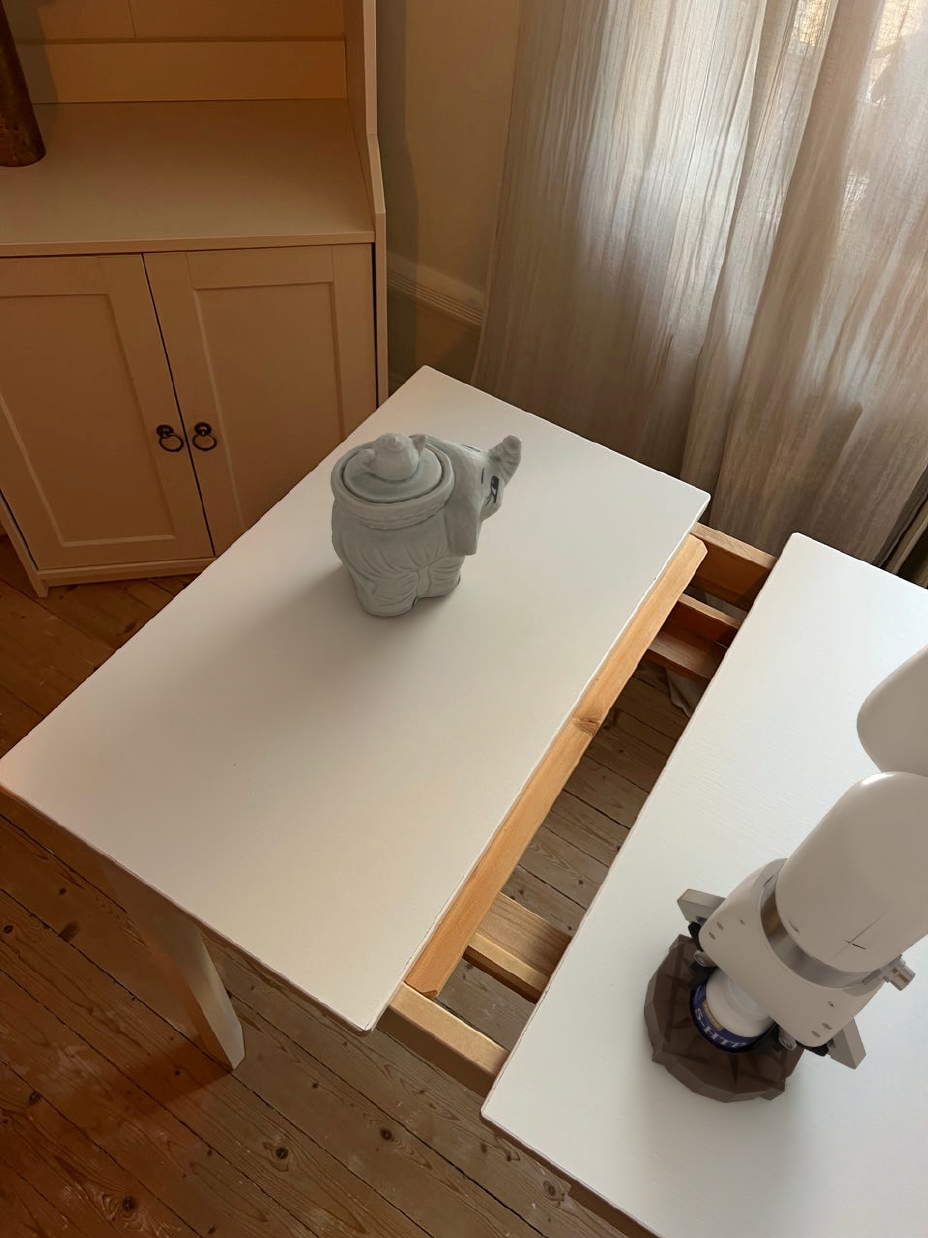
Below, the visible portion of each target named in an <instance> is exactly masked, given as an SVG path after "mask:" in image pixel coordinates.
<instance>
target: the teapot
mask: <svg viewBox="0 0 928 1238" xmlns="http://www.w3.org/2000/svg"><path fill="white" fill-rule="evenodd" d="M522 457H523V442H522V439H521V438H520V437H519V436H518V435H515V434H509V435H507V436H505V438H503V440H502V441H500V442H499V443H497V444H496V445H494V446H493V447H491V448H489V449H481V448H479V447H476V446H473V445H470V444H468V443H463V442H453V441H449V440H446V439H444V438H440V437H438V436H435V435H431V434H426V433H414V434H411V435H409V436H407V435H405V434H402V433H398V432H387V433H384V434H382V435H380V436H379V437H377V438H376V439H375V440H371V441H367V442H364V443H362V444H359V445H356V446H354V447H352V448H351V449H348V451H346V453H344V454H343V455H342V456H341V457H340V458H339V459H337V461H336V462H335V464H334V465H333V467H332V470H331V472H330V482H329V483H330V488H331V492H332V495H333V498H334V500H333V503H332V507H331V519H330V526H331V544H332V547H333V549H334V551H335V554H336V556H337V557H338V559H339V560H340V561H341V562H342V564H343V565H344V566H345V568H346V569H347V570H348V572H349V576H350V578H351V580H352V581H353V584H354V585H355V587H356V592H357V597H358V600H359V603H360V605H361V606H362V608H363V609H364V610H365V611H366V612H367V613H369V614H371V615H373V616H379V617H394V616H395V617H396V616H399V615H402V614H404V613H406V612H408V611H410V610H411V609H412V608H414V607H415V606H416V604H417V602H418V601H419V600H420V599H421V598H427V597H440V596H443V595H447V594H449V593H451V592H453V591H454V590H455V589H456V588H457V587H458V586H459V585H460V583H461V581H462V574H461V573H462V572H461V569H462V567H463V564H464V562H465V560H466V556H473V555H476V554H477V550H478V544H479V539H480V534H481V531H482V530H481V529H482V525H483V522H484V521H486V520H487V519H489V518H490V517H492V516H493V515H494V514H495V513H497V512H498V510H500V508H501V506H502V504H503V500H504V493H505V489H506V487H507V486H508V484H509V482H510V481H511V480H512V478H513V477H514V475H515V474H516V472H517V470H518V468H519V466H520V464H521V460H522Z"/></svg>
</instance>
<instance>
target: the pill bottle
mask: <svg viewBox="0 0 928 1238" xmlns="http://www.w3.org/2000/svg"><path fill="white" fill-rule="evenodd" d="M689 1007H690V1011H691V1015H692V1020H693V1022H694V1024H695V1025H696V1027H697V1029H698V1030H699V1032H700V1033H701V1035H702V1036H703V1037H704V1038H705V1039H707V1040H708V1041H709V1042H710V1043H712V1044H713V1045H714V1046H715V1047H717V1048H719V1049H722V1050H725V1051H728V1052H731V1053H739V1052H742V1051H743V1050H745V1049H746V1048H747V1047H748V1046H750V1045H751V1044H753V1043H755V1042H756V1039H757V1038H759V1037H760V1036H761V1035H763V1034H764V1033H765V1032H767V1031H768V1030H769V1029H770V1028H771V1027H772V1026H773V1024H774V1023H775V1020H774V1019H772V1018H771V1017H770V1016H769V1015H768V1014H767V1013H766V1012H765V1011H764V1010H763V1009H762V1008H761V1007H760V1006H759V1005H758V1004H757V1003H756V1002H755V1001H754V1000H753V999H751V998H750V997H749V996H748V995H747V994H746V993H745V992H744V991H743V990H742V989H741V988H740V987H739V986H738V985H737V984H736V983H735V982H734V981H733V980H732V979H731V978H730V977H729V976H728V975H727V974H726V973H725V972H724V971H723V970H722V969H721V968H720V967H719V966H718V967H717V968H716V969H715V970H714V971H713V972H712V973H711V975H710V976H709V977H708V978H707V979H706V980H705V981H704V982H703V983H702V984H701V985H700V987H699V988H698V989H697V990H696V991H694V990H693V991H692V992H691V994H690V1001H689Z"/></svg>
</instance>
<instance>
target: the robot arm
mask: <svg viewBox="0 0 928 1238" xmlns="http://www.w3.org/2000/svg"><path fill="white" fill-rule="evenodd" d="M856 716H857V717H856V725H855V727H856V732H857V738H858V740H859V743H860V745H861V746H862V748H863V750H864V751H865V753H866V755H867V756H868V757H869V758H870V760H871V762H872V763H873V764H874V765H875V766H876V768H877V769H878V770H879V771H880V772H877V773H874V774H871V775H868V776H866V777H864V778H862V779H860V780H858V781H856V782H855V783H854V784H853V785H851V786H850V787H849V788H848V789H847V790H846V791H845V792H844V793H843V794H842V795H841V796H840V797H839V799H837V801H836V802H835V804H833V805H832V807H831V808H830V809H828V812H826V814H825V815H824V816H823V817H822V818H821V820H820V821H819V822H818V823H816V825H815V826H814V828H813V829H811V831H810V832H809V833H808V835H807V836H806V837H805V838H804V839H803V841H801V843H800V844H799V845H798V846H797V848H796V849H795V850H794V851H793V852H792V853H791V855H790V856H788V857H781V858H777V859H776V858H775V859H773V860H771V861H769V862H767V863H765V864H763V865H761V866H760V867H758V868H757V869H755V870H754V871H752V872H751V873H750V874H748V876H746V877H745V878H744V879H743V880H742V881H741V882H740V883H739V884H738V885H737V886H736V887H735V888H734V889H733V890H732V891H731V892H730V893H729V894H728V895H727V896H726V897H724V896H720V895H716V894H712V893H708V892H704V891H700V890H697V889H693V888H687V889H686V890H685V891H684V892H683V893H682V894H681V895H680V896H679V897H678V898H677V900H676V903H677V905H678V908H679V909H680V911H681V913H682V916H683V917H684V919H685V920H686V921H687V922H688V926H687V930H688V932H689V935H690V937H692V939H693V941H694V943H695V945H696V947H697V951H696V952H695V953H694V958H695V961H694V962H693V963H692V964H691V966H690V968H691V969H692V970H693V971H694V972H695V973H696V975H695V976H694V978H693V979H692V980H691V981H690V982H689V983H688V984H687V986H688V987H689V988H690V989H691V991H693V992H694V991H696V990H697V989H698V988H699V987H700V985H701V984H702V983H703V982H704V981H705V980H706V979H707V978H708V977H709V976H710V975H711V973H712V972H713V971H714V970H715V969H716V968H717V967H718V966H719V967H720V968H721V969H722V970H723V971H724V972H725V973H726V974H727V975H728V976H729V977H730V978H731V979H732V980H733V981H734V982H735V983H736V984H737V985H738V986H739V987H740V988H741V989H742V990H743V991H744V992H745V993H746V994H747V995H748V996H749V997H750V998H751V999H753V1000H754V1001H755V1002H756V1003H757V1004H758V1005H759V1006H760V1007H761V1008H762V1009H763V1010H764V1011H765V1012H766V1013H767V1014H768V1015H769V1016H770V1017H771V1018H772V1019H774V1020H775V1023H774V1024H773V1026H772V1027H771V1028H770V1029H769V1030H768V1031H767V1032H765V1033H764V1034H763V1035H761V1036H760V1038H759V1039H758V1040H757V1041H756V1040H755V1042H756V1043H755V1042H754V1043H755V1044H754V1043H753V1044H752V1046H751V1049H752V1048H753V1049H754V1050H753V1052H754V1053H755V1054H756V1055H757V1056H760V1055H761V1054H763V1053H764V1052H765V1051H767V1050H768V1049H769V1048H771V1047H772V1048H773V1049H774V1050H775V1051H776V1052H777V1053H778V1052H780V1051H781V1050H782V1049H784V1048H785V1047H786V1048H787V1049H789V1050H794V1048H795V1047H796V1046H799V1047H802V1048H804V1049H805V1050H806V1051H808V1052H811V1053H813V1054H814V1055H816V1056H819V1057H823V1058H824V1057H826V1056H827V1055H828V1056H829V1057H830V1059H832V1060H833V1061H835V1062H838V1063H839V1064H841V1065H843V1066H845V1067H848V1068H849V1069H851V1070H856V1069H857V1068H858V1067H859V1066H860V1064H861V1063H862V1062H863V1060H864V1059H865V1057H866V1056H867V1052H866V1049H865V1046H864V1043H863V1041H862V1037H861V1034H860V1032H859V1028H858V1026H857V1023H856V1019H855V1017H856V1016H857V1015H859V1013H860V1012H862V1011H863V1009H864V1008H865V1007H866V1006H867V1005H868V1004H869V1003H870V1001H871V1000H872V998H874V996H876V994H877V993H878V992H879V991H880V990H881V989H882V987H883V986H884V984H885V983H887V984H888V983H890V984H891V985H892V986H893V987H894V988H896V989H897V990H898V991H899V992H902V991H903V990H904V989H906V988H907V986H909V984H910V983H911V982H912V981H913V980H914V978H915V976H916V973H915V971H913V970H912V969H910V967H909V966H907V964H906V960H904V959H903V958H902V957H903V953H904V952H906V951H907V950H908V949H911V947H913V946H914V945H915V944H916V943H918V942H919V941H921V940H922V939H923V938H925V937H926V936H928V643H927V644H926V645H924V646H923V647H922V648H920V649H919V650H918V651H916V652H915V653H914V654H913V655H911V656H910V657H908V658H907V659H906V660H905V661H904V662H903V663H901V664H900V665H899V666H897V667H896V668H895V669H894V670H893V671H892V672H891V673H889V674H888V675H887V676H886V677H884V679H882V681H881V682H879V684H877V685H876V686H875V687H874V688H873V689H872V690H871V691H870V693H869V694H868V695H867V696H866V698H865V699H864V701H863V702H862V704H861V706H860V708H859V710H858V712H857V715H856Z"/></svg>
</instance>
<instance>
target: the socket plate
mask: <svg viewBox="0 0 928 1238" xmlns="http://www.w3.org/2000/svg"><path fill="white" fill-rule="evenodd" d="M668 949H669V950H668V953H667V954H666V956H665V957H664V958H663V960H662V961H661V963H660V964H659V966H658V967H657V969H656V970H655V971H654V973H653V975H652V976H651V977H650V979H649V981H648V983H647V988H646V994H645V1001H644V1006H643V1015H644V1020H645V1024H646V1029H647V1034H648V1038H649V1042H650V1045H651V1046H652V1048H653V1050H652V1056H651V1062H652V1063H656V1064H659V1065H662V1066H664V1068H665V1070H666V1071H667V1072H668V1073H669V1074H670V1075H671V1076H673V1078H674V1079H676V1080H677V1081H679V1082H680V1083H681V1084H682V1085H683V1086H685V1087H686V1089H689V1091H691V1092H692V1093H694V1094H696V1095H699V1096H703V1097H706V1098H708V1099H712V1100H715V1101H718V1102H721V1103H725V1104H726V1103H727V1104H728V1103H737V1102H746V1101H753V1100H756V1099H757V1098H758V1097H759V1098H762V1099H765V1100H769V1101H772V1100H774V1099H776V1098H777V1097H779V1096H781V1095H782V1094H784V1093H785V1092H786V1083H787V1079H788V1078H789V1077H790V1076H792V1074H793V1072H794V1070H795V1069H796V1067H797V1065H798V1064H799V1061H800V1060H801V1058H802V1057H803V1054H804V1052H805V1050H806V1049H804V1048H802V1047H799V1046H796V1047H795V1048H794V1050H789V1049H787V1048H786V1047H785V1048H784V1049H782V1050H781V1051H780V1052H778V1053H777V1052H776V1051H775V1050H774V1049H773V1048H772V1047H771V1048H769V1049H768V1050H767V1051H765V1052H764V1053H763V1054H761V1055H760V1056H757V1055H756V1054H755V1053H754V1052H753V1050H754V1049H753V1048H752V1047H751V1049H750V1050H749V1051H740V1052H738V1053H731V1052H728V1051H725V1050H722V1049H719V1048H717V1047H715V1046H714V1045H713V1044H712V1043H710V1042H709V1041H708V1040H707V1039H705V1038H704V1037H703V1036H702V1035H701V1033H700V1032H699V1030H698V1029H697V1027H696V1025H695V1024H694V1022H693V1020H692V1015H691V1011H690V1007H689V1001H690V996H691V994H692V990H691V989H690V988H689V987H688V986H687V984H688V983H689V982H690V981H691V980H692V979H693V978H694V976H695V975H696V973H695V972H694V971H693V970H692V969H691V968H690V966H691V964H692V963H693V962H694V961H695V958H694V953H695V952H696V951H697V947H696V945H695V943H694V941H693V939H692V937H691V936H689V935H685V934H681V933H679V934H678V935H677V937H676V938H675V939H674V941H672V943H671V945H670V946H669V948H668ZM759 1038H760V1037H759ZM759 1038H757V1039H756V1040H755V1041H754V1042H753V1045H754V1044H755V1043H756V1041H757V1040H758V1039H759Z"/></svg>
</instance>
